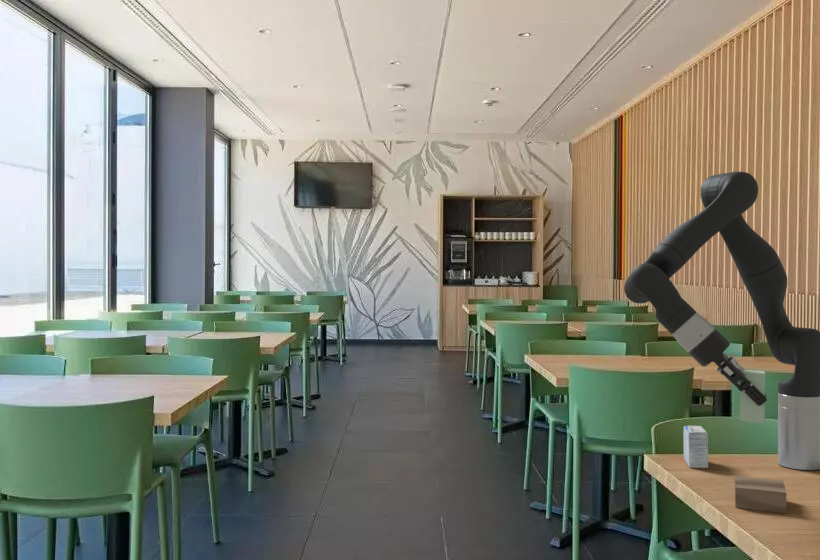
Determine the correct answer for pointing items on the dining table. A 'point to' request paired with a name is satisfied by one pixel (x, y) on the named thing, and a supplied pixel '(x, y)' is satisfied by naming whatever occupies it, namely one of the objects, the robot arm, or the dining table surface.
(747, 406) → the sage block
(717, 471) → the dining table surface
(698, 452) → the medicine box
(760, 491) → the walnut plinth
